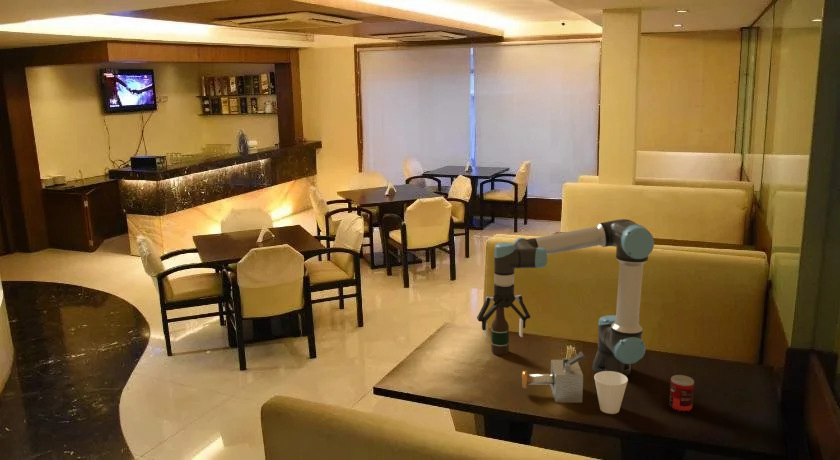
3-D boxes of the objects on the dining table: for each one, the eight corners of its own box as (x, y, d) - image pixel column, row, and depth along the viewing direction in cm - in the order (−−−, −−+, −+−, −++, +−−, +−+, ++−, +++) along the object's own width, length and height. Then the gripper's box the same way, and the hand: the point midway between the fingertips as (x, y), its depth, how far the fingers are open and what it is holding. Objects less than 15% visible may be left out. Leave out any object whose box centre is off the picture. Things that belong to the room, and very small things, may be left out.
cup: (633, 411, 241) (635, 380, 238) (609, 420, 235) (611, 388, 232) (609, 398, 251) (610, 368, 248) (586, 406, 245) (587, 375, 242)
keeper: (583, 353, 254) (581, 350, 254) (585, 358, 249) (583, 355, 249) (565, 364, 255) (563, 362, 255) (567, 369, 251) (564, 366, 251)
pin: (567, 383, 258) (567, 368, 256) (570, 390, 252) (570, 375, 250) (521, 383, 259) (521, 368, 258) (523, 390, 253) (523, 375, 251)
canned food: (673, 400, 248) (674, 372, 246) (695, 406, 243) (697, 378, 241) (665, 408, 243) (667, 380, 240) (688, 414, 238) (690, 386, 235)
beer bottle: (508, 356, 291) (508, 304, 286) (490, 355, 293) (490, 303, 288) (509, 349, 299) (509, 298, 294) (492, 348, 300) (492, 297, 295)
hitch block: (576, 385, 262) (576, 354, 259) (582, 402, 248) (583, 369, 245) (550, 385, 263) (551, 354, 260) (555, 402, 249) (556, 369, 246)
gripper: (533, 279, 255) (532, 331, 260) (469, 282, 252) (469, 334, 257) (539, 285, 248) (538, 338, 252) (473, 288, 245) (473, 342, 250)
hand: (503, 336), depth 255 cm, fingers open, 13 cm apart
